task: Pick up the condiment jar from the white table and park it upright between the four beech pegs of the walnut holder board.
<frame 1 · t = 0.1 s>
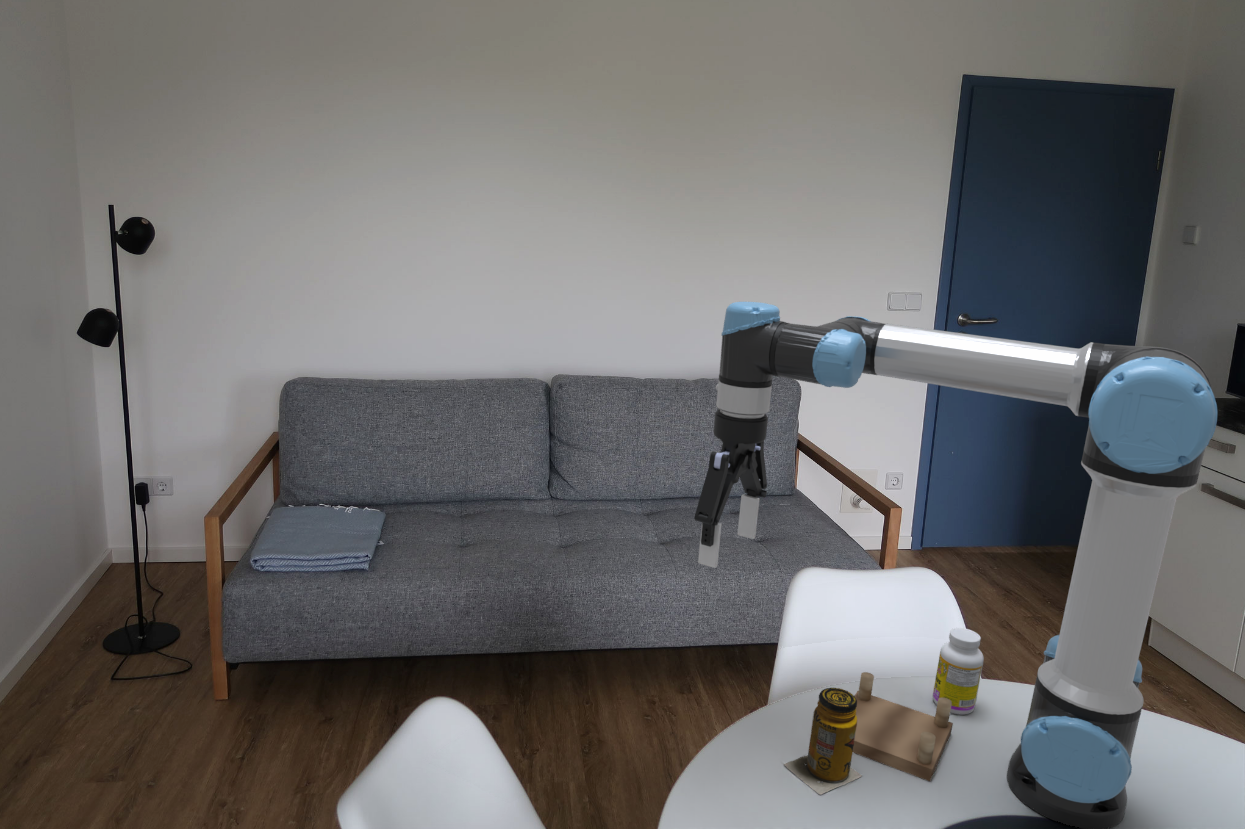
hand: (727, 550, 132), 28 cm above the table, tool pointing down, fingers open, 13 cm apart
supplement bottle: (952, 705, 146), on the table
condiment: (822, 772, 127), on the table
peg holder: (890, 738, 136), on the table
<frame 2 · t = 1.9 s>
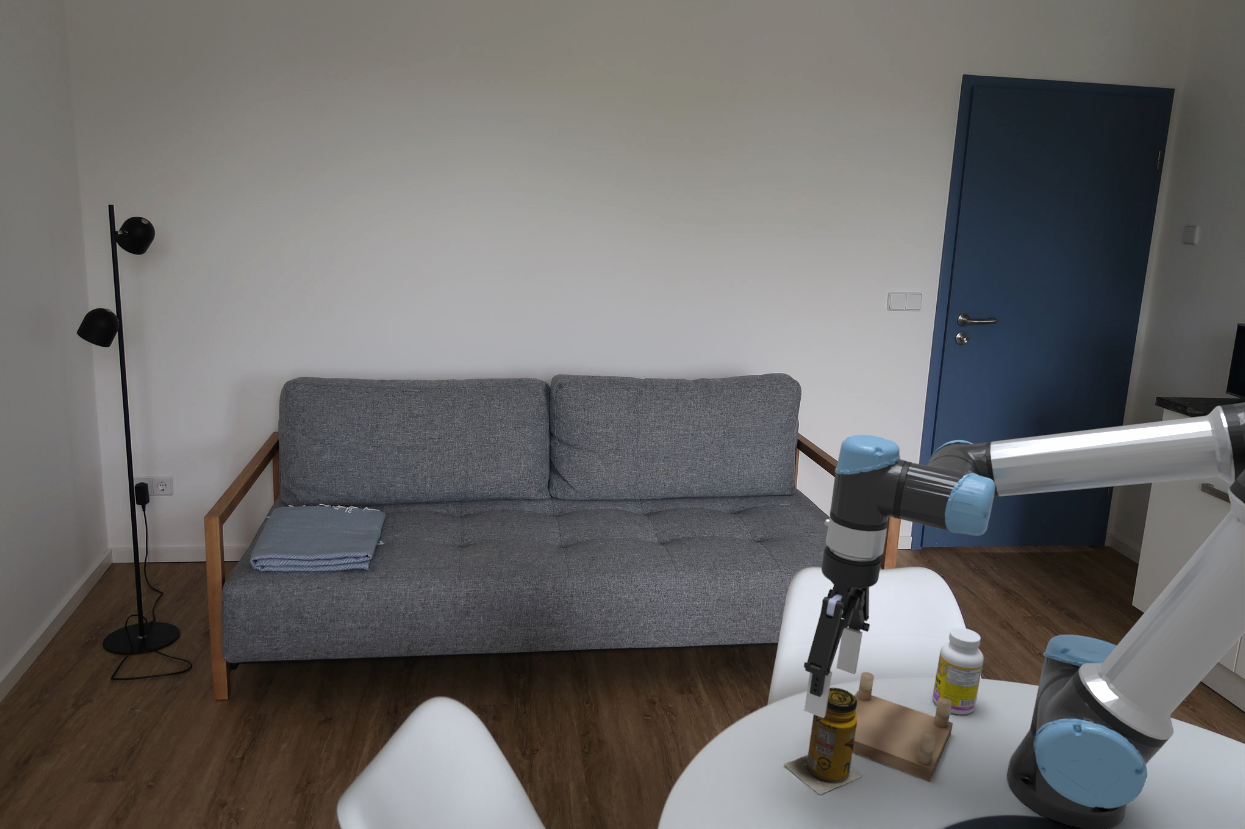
hand: (831, 691, 124), 13 cm above the table, tool pointing down, fingers open, 13 cm apart
nothing on the table moved.
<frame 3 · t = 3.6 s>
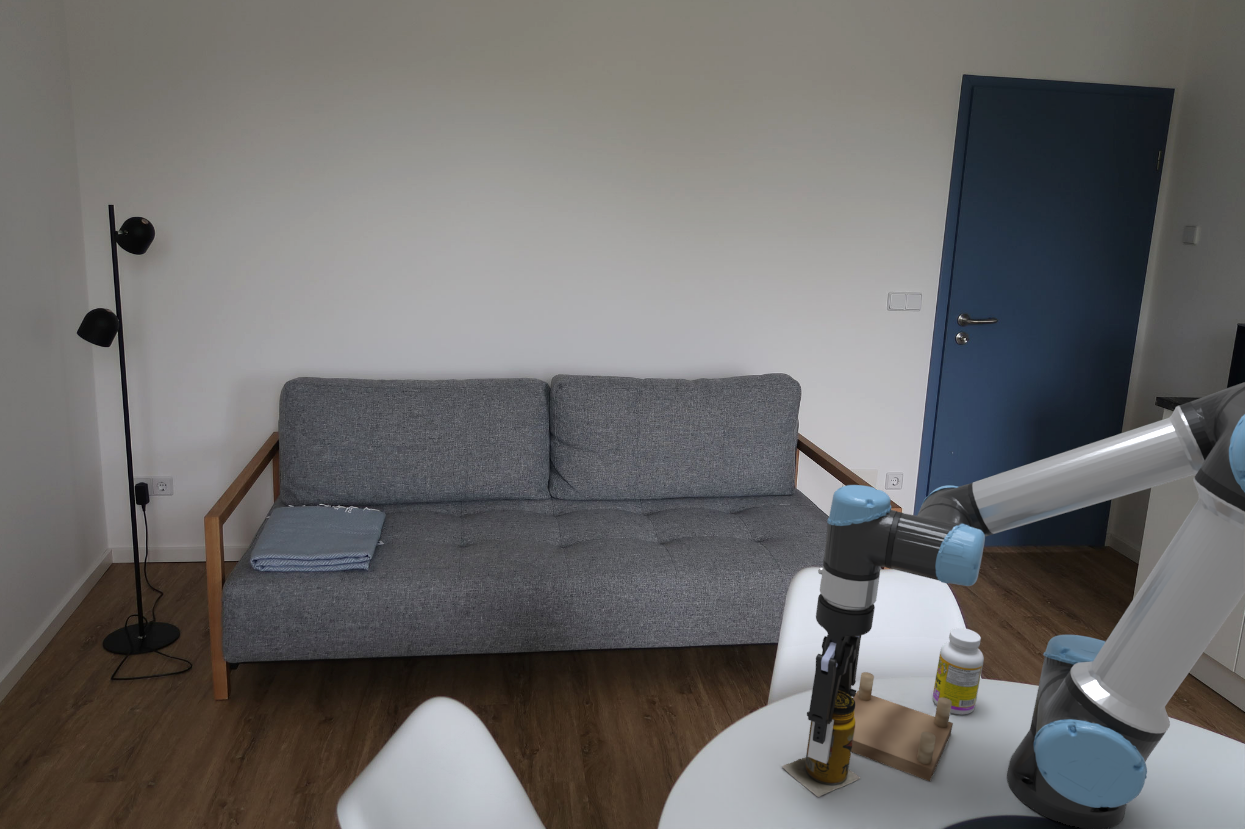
hand: (825, 746, 126), 4 cm above the table, tool pointing down, fingers closed on condiment, 6 cm apart
condiment: (820, 774, 127), on the table, touching gripper
everything else where it was.
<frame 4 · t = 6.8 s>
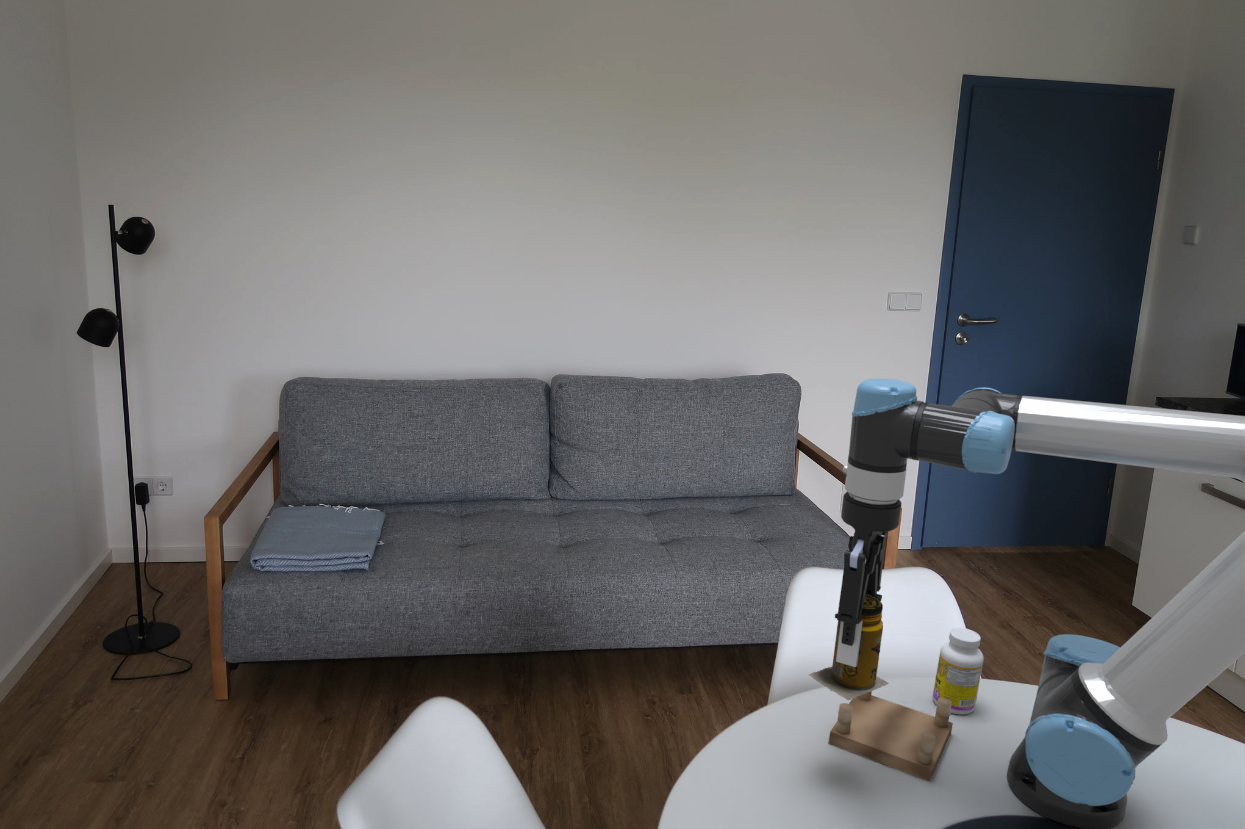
hand: (853, 652, 124), 18 cm above the table, tool pointing down, fingers closed on condiment, 6 cm apart
condiment: (848, 681, 124), point 14 cm above the table, touching gripper
everything else where it was.
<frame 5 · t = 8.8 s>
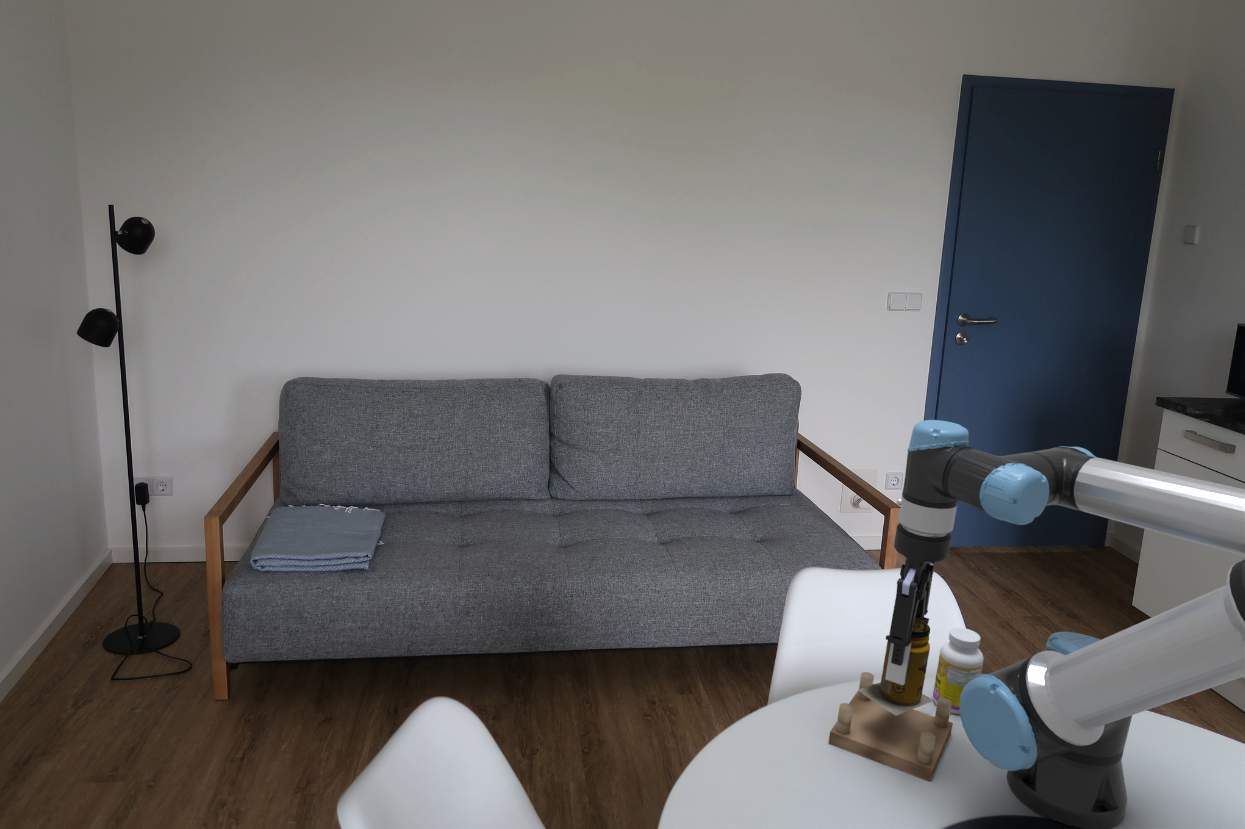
hand: (900, 671, 133), 11 cm above the table, tool pointing down, fingers closed on condiment, 6 cm apart
condiment: (895, 697, 134), point 7 cm above the table, touching gripper
everything else where it was.
when the fingers open (7 cm above the table, at t = 10.3 s): condiment drops 1 cm, resting on peg holder.
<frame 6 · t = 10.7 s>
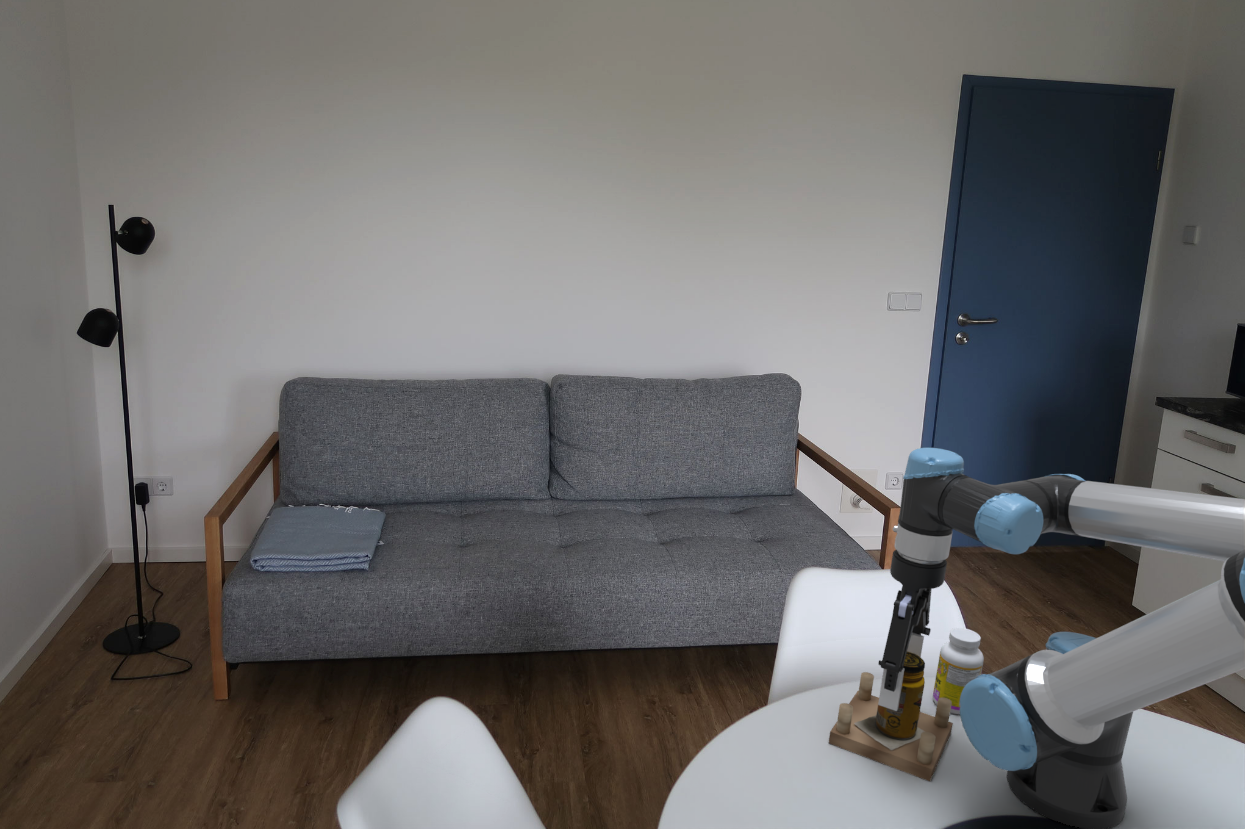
hand: (898, 688, 134), 9 cm above the table, tool pointing down, fingers open, 11 cm apart
condiment: (890, 731, 135), point 2 cm above the table, touching peg holder
everything else where it was.
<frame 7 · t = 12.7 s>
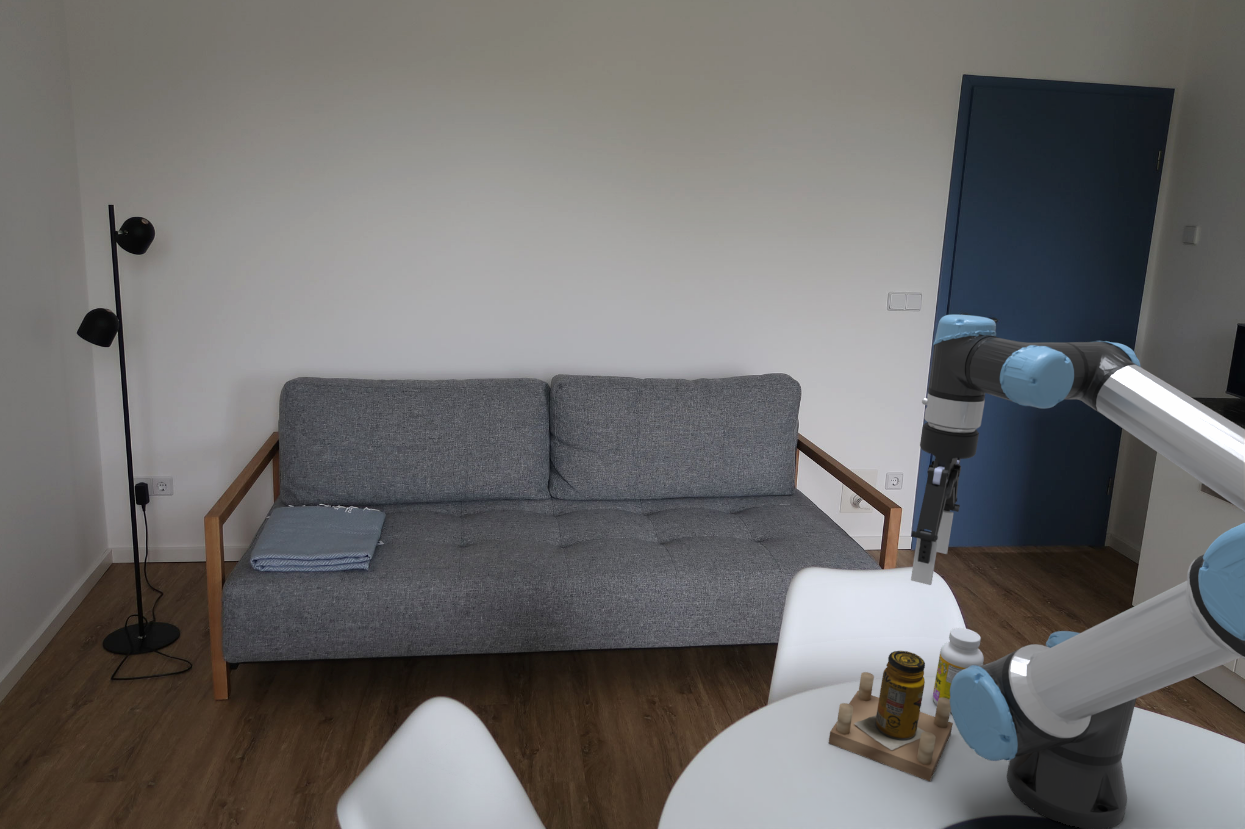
hand: (929, 566, 130), 28 cm above the table, tool pointing down, fingers open, 13 cm apart
nothing on the table moved.
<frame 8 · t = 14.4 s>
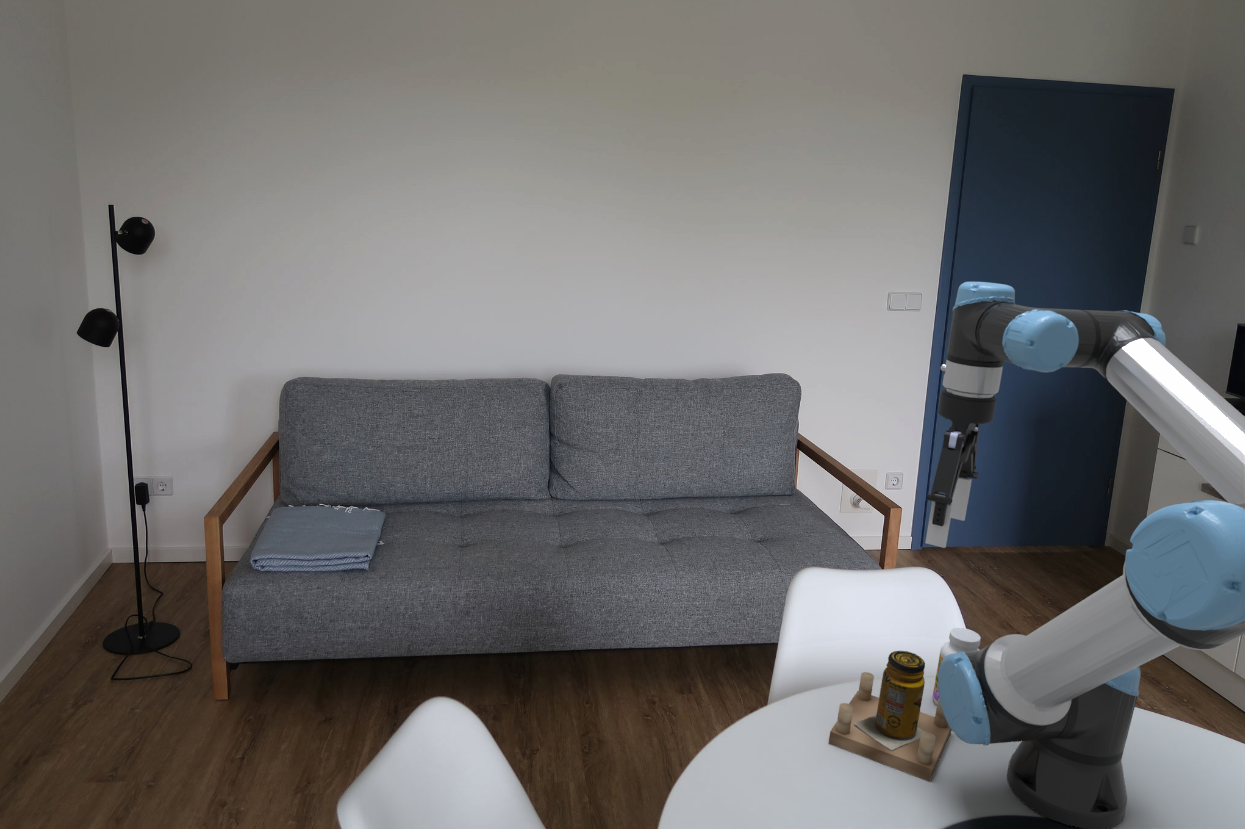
hand: (945, 531, 132), 33 cm above the table, tool pointing down, fingers open, 13 cm apart
nothing on the table moved.
at the end: condiment inside the target area on the peg holder (0.9 cm from its centre), point 1.8 cm above the peg holder's base; condiment tilted 0°; the gripper is holding nothing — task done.
